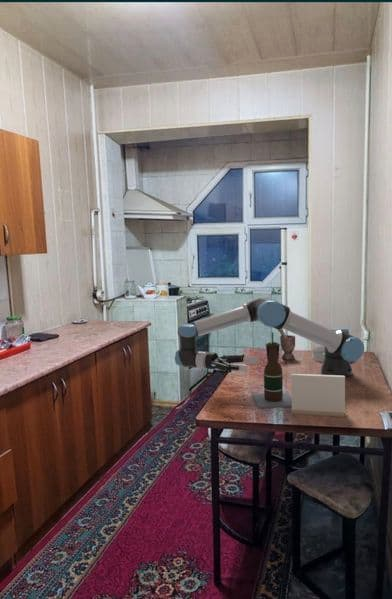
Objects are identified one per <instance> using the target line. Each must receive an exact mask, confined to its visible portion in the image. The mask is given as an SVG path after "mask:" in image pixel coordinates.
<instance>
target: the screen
mask: <svg viewBox="0 0 392 599" xmlns="http://www.w3.org/2000/svg"><path fill="white" fill-rule="evenodd" d="M291 397H292V407H291V414H292V415H304V416H306V415H308V416H309V415H310V416H321V417H322V416H323V417H324V416H325V417H326V416H327V417H338V418H340V417H341V418H345V417H346V377H345V376H341V375H323V374H314V373H313V374H308V373H291Z"/></svg>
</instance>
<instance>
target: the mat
mask: <svg viewBox="0 0 392 599" xmlns="http://www.w3.org/2000/svg"><path fill="white" fill-rule="evenodd" d="M251 396H252V398H253V401H254V402H255V404H256V407H257V409H274V408H292V395H291V394H290V393H289V392H283V397H282V400H281V401H278V402H270V401H267V400H265V398H264V392H263V393H252V394H251Z"/></svg>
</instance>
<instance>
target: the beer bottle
mask: <svg viewBox="0 0 392 599" xmlns="http://www.w3.org/2000/svg"><path fill="white" fill-rule="evenodd" d="M276 343H277V342H276ZM276 343H270V344H269V345H268V346H269V359H268V360H267V363H266V365H265V367H264V370H263V393H264V398H265V400H267V401H270V402H278V401H281V400H282V397H283V393H284V391H283V389H284V388H283V387H284V386H283V384H284V383H283V378H284V377H283V368H282V366H281V364H280V363H279V359H278V358H277V344H276Z"/></svg>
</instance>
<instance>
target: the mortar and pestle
mask: <svg viewBox="0 0 392 599" xmlns="http://www.w3.org/2000/svg"><path fill="white" fill-rule="evenodd" d="M277 331H278V332H279V333H280V337H279V339H280V348H281V350H282V351H283V354H282V355H281V359H282V360H287V361H290V360H292V361H293V360H295V358H296V357H295V355H294V354H293V351H294V350H295V347H296V336H295V335H291V334H290V335H289V334H288V335H287V334H285V332H284V329H281V330H278V329H277Z"/></svg>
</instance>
